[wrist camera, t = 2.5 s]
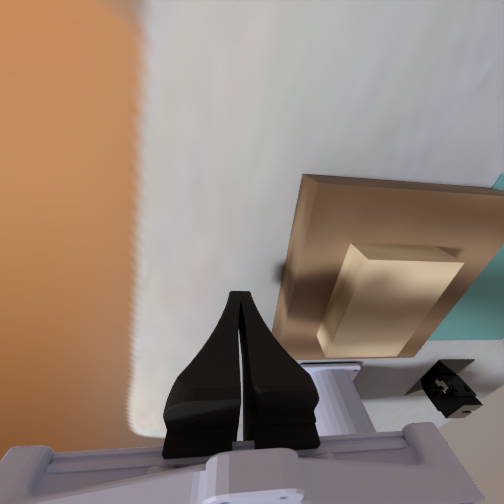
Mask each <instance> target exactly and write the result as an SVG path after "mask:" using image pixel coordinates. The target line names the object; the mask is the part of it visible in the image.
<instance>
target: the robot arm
mask: <svg viewBox="0 0 504 504" xmlns="http://www.w3.org/2000/svg"><path fill="white" fill-rule="evenodd" d="M238 330H239V335H240V344H241V354H242V367H243V441H237V432H238V426H239V416H240V407H241V382H240V364H239V340H238ZM360 368H361V366H360V364H358V363H344V364H304V365H299V364H298V363H297V362H296V361H295V360H294V359H293V358H292V357H291V356H290V355H289V354H288V352H287V351H286V350H285V349H284V348H283V347H282V346H281V345H280V343H279V342H278V341H277V340H276V338H275V337H274V336H273V334H272V333H271V331H270V330H269V329H268V327H267V325H266V324H265V322H264V321H263V319H262V317H261V315H260V313H259V312H258V310H257V308H256V306H255V303H254V301H253V299H252V296H251V293H250V292H249V291H231V292H229V298H228V301H227V304H226V307H225V309H224V311H223V314H222V316H221V318H220V320H219V322H218V324H217V326H216V328H215V329H214V331H213V333H212V334H211V336H210V337H209V339H208V340H207V342H206V343H205V345H204V346H203V348H202V349H201V350H200V352H199V353H198V354H197V355H196V357H195V358H194V359H193V360H192V362H191V363H190V364H189V365H188V366H187V367H186V368H185V369H184V371H183V372H182V373H181V374H180V375H179V376H178V377H177V379H176V381H175V383H174V385H173V387H172V389H171V391H170V393H169V396H168V399H167V402H166V406H165V409H164V413H163V418H164V422H165V425H166V428H167V433H166V438H165V442H164V446H158V447H157V446H156V447H140V448H125V449H108V450H93V451H77V452H61V453H54V451H53V449H52V448H50V447H48V446H44V445H36V446H19V447H12V448H10V449H9V450H8V452H7V453H6V454H5V456H4V457H3V458H2V460H1V461H0V504H476V503H479V502H482V501H484V500H485V497H484V495H483V494H482V493H481V491H480V490H479V488H478V487H477V485H476V484H475V482H474V481H473V479H472V478H471V477H470V475H469V474H468V472H467V471H466V470H465V468H464V466H463V465H462V463H461V462H460V461H459V459H458V458H457V456H456V455H455V453H454V452H453V450H452V449H451V448H450V446H449V445H448V443H447V442H446V440H445V439H444V437H443V436H442V435H441V433H440V432H439V430H438V429H437V427H436V426H435V424H434V423H432V422H423V423H411V424H408V425H406V426H405V427H404V428H403V429H402V431H393V432H376V430H375V428H374V426H373V424H372V422H371V420H370V417H369V415H368V413H367V411H366V409H365V407H364V405H363V403H362V401H361V399H360V397H359V394H358V392H357V390H356V388H355V386H354V384H353V380H354V378H355V377H356V375H357V373H358V372H359V370H360Z"/></svg>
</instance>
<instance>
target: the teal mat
mask: <svg viewBox="0 0 504 504" xmlns="http://www.w3.org/2000/svg"><path fill="white" fill-rule="evenodd" d="M492 189H495V190H500V191H504V174H501V176H500V177H499V179H498V180H497V182H496V183H495V185H494V186H493V188H492ZM503 338H504V244H503V246H502V247H501V248H500V249H499V251H498V252H497V253H496V254H495V256H494V257H493V258H492V259H491V261H490V262H489V263H488V264H487V266H486V267H485V268H484V270H483V271H482V272H481V273H480V275H479V276H478V277H477V278H476V280H475V281H474V282H473V283H472V285H471V286H470V287H469V288H468V290H467V291H466V292H465V293H464V295H463V296H462V297H461V298H460V300H459V301H458V302H457V303H456V305H455V306H454V307H453V308H452V310H451V311H450V312H449V313H448V315H447V316H446V317H445V318H444V320H443V321H442V322H441V323H440V325H439V326H438V327H437V328H436V330H435V331H434V332H433V334H432V335H431V336H430V337H429V339H428V340H502V339H503Z"/></svg>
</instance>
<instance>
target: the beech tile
mask: <svg viewBox="0 0 504 504" xmlns="http://www.w3.org/2000/svg"><path fill="white" fill-rule="evenodd" d="M463 264H464V262H462V261H461V260H459V259H457V258H455V257H453V256H452V255H450V254H448V253H446V252H444V251H443V250H441V249H439V248H437V247H435V246H413V245H388V244H364V243H350V246H349V248H348V251H347V254H346V256H345V259H344V262H343V265H342V267H341V270H340V273H339V276H338V278H337V281H336V284H335V287H334V289H333V292H332V295H331V298H330V300H329V303H328V306H327V309H326V311H325V314H324V317H323V319H322V322H321V325H320V328H319V330H318V333H317V338H318V340H319V343H320V345H321V348H322V350H323V352H324V355H325V357H326V358H339V357H386V356H397V355H398V354H399V353H400V351H401V350H402V348H403V347H404V346H405V344H406V343H407V342H408V340H409V339H410V337H411V336H412V335H413V333H414V332H415V331H416V329H417V328H418V326H419V325H420V324H421V322H422V321H423V319H424V318H425V317H426V315H427V314H428V313H429V311H430V310H431V308H432V307H433V306H434V304H435V303H436V302H437V300H438V299H439V297H440V296H441V295H442V293H443V292H444V291H445V289H446V288H447V286H448V285H449V284H450V282H451V281H452V279H453V278H454V277H455V275H456V274H457V273H458V271H459V270H460V268H461V267H462V266H463Z"/></svg>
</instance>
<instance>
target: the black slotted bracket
mask: <svg viewBox="0 0 504 504" xmlns="http://www.w3.org/2000/svg"><path fill="white" fill-rule="evenodd" d="M473 361H475V359H441V360H439V361H438V362H437V363H436V364H435V365H434V366H433V367H432V368H431V369H430V370H429V371H428V372H427V373H426V374H425V375H424V376H423V377H422V378H421V379H420V380H419V381H418V382H417V383H416V384H415V385H414V386H413V387H412V388H411V389H410V390H409V391H408V392H407V393H406V394H405V395H427V396H428V398H429V399H430V400H431V402H432V403H433V404H434V406H435V407H436V409H437V410H438V411H441V412H442V414H443V415H444V416H445V418H464V417H466V416H468V415H469V414H471V411H474V410H476V409H478V408H479V407H481V406H482V405H483V404H481V402H480V401H479V400H478V399H477V398H476V397H475V396H477V395H476V394H475V393H474V392H473V391H472V390H471V388H470V387H469V386H468V385H467V384H466V383H465V382H464V381H463V380H462V379H461V378H460V377H459V376H458V375H459V374H460V373H461V372H462V371H463V370H464V369H465V368H467V367H468V366H469V365H470V364H471V363H472V362H473ZM447 386H448V389H447V390H446V391H445V392H446V393H444V392H443V390H445V389H444V388H446V387H447Z"/></svg>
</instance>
